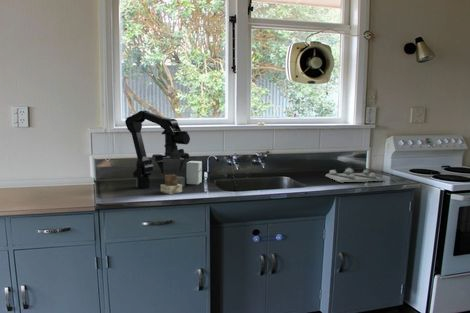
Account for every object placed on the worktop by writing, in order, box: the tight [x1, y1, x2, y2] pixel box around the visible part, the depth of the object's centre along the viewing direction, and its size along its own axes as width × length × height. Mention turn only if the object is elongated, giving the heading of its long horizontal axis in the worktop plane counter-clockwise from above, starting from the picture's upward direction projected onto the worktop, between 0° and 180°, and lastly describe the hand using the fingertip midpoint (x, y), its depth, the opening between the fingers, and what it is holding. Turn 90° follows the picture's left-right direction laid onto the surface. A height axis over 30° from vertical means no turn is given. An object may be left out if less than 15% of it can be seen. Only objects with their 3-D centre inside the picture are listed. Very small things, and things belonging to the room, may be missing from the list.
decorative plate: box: [325, 167, 386, 184], centre depth 251 cm, size 30×22×7 cm
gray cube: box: [177, 175, 186, 188], centre depth 226 cm, size 5×5×5 cm
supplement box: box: [186, 160, 203, 186], centre depth 233 cm, size 7×7×13 cm
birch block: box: [160, 183, 183, 195], centre depth 212 cm, size 8×8×4 cm
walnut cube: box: [164, 173, 178, 186], centre depth 212 cm, size 5×5×5 cm
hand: (171, 172), depth 211 cm, fingers open, 9 cm apart
